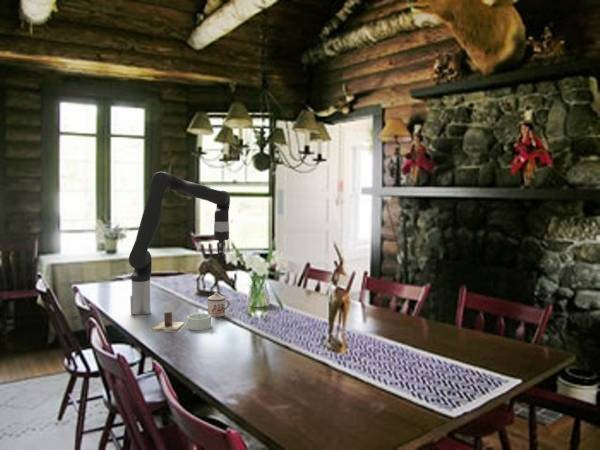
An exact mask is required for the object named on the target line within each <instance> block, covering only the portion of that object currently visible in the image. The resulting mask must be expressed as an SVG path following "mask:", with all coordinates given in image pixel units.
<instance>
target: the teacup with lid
mask: <svg viewBox="0 0 600 450" xmlns="http://www.w3.org/2000/svg"><path fill="white" fill-rule="evenodd" d="M206 299H207V314H209V315H211V318H212V317H213V318H215V317H216V318H219V317H224V316H225V315H226V310H227V309H228V308H230V305H231V304H230V300H228V299H226V297H225V296H224V295H221V294H219V292H214V294H212V295H211V296H208V297H207V298H206ZM226 302H227V305H226Z"/></svg>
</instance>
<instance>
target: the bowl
mask: <svg viewBox="0 0 600 450" xmlns="http://www.w3.org/2000/svg"><path fill="white" fill-rule="evenodd" d="M186 324H187V325H186V328H187V329H188V330H190V331H191V330H192V331H204V330H208V329H210V328H211V327H212V317H211V315H209V314H208V313H201V312H200V313H192V314H188V315H187V316H186Z"/></svg>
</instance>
